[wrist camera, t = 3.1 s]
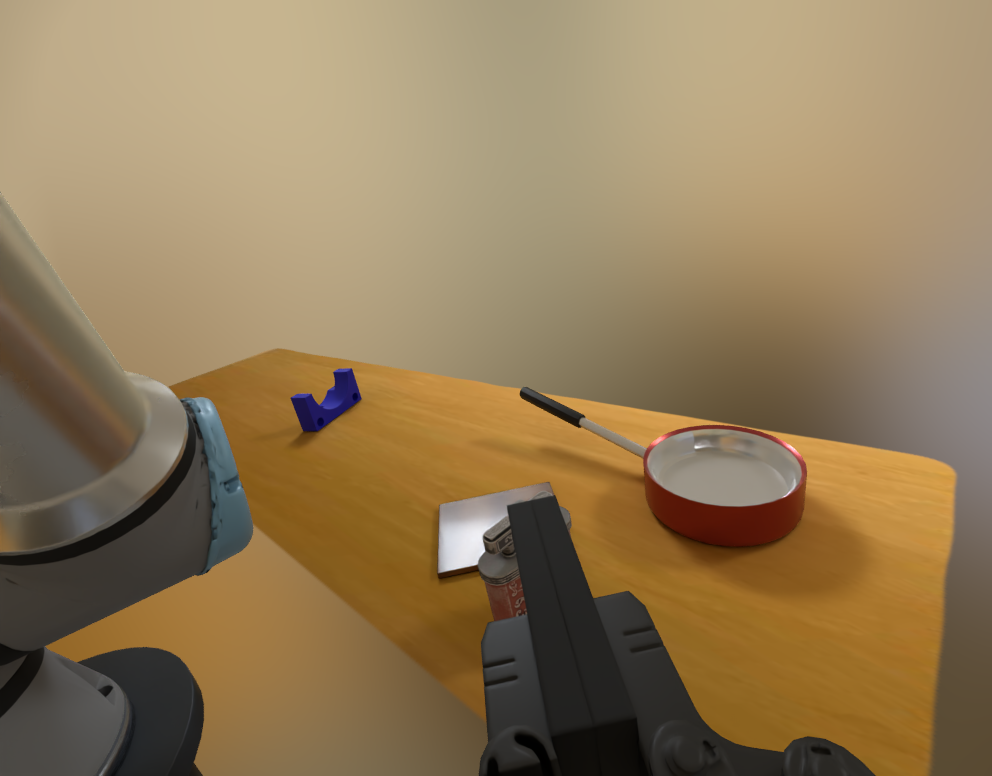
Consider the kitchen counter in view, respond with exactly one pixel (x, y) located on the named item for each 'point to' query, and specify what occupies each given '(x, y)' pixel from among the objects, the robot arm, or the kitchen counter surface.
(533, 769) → the robot arm
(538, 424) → the kitchen counter surface
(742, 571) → the kitchen counter surface
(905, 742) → the kitchen counter surface
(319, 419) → the blue notched block
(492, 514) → the plate
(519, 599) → the lighter
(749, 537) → the frying pan
